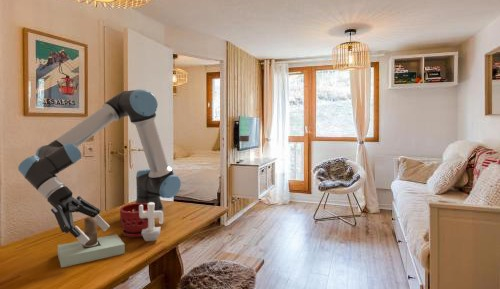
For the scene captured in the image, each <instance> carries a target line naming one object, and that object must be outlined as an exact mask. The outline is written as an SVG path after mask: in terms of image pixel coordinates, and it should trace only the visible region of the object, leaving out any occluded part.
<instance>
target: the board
mask: <svg viewBox="0 0 500 289" xmlns="http://www.w3.org/2000/svg"><path fill="white" fill-rule="evenodd" d="M97 242H98V245H97V246H96V247H92V248H87V249H86V248H85V246H84V245H83V244H82V243H81V242H80V241H79V240H77V241H73V242H69V243H68V242H67V243H62V244H57V256H58V257H57V258H58V261H59V264H60V268H66V267H70V266H75V265H79V264H83V263H89V262H93V261H97V260H101V259H106V258H111V257H114V256H119V255H123V254H126V247H125V246H126V244H125V243H124V241H123V240H122V239H121V237H119V236H118V234H117V233H115V234H110V235H105V236H101V237H97Z"/></svg>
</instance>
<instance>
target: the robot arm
mask: <svg viewBox="0 0 500 289" xmlns="http://www.w3.org/2000/svg"><path fill="white" fill-rule="evenodd" d="M157 109H158V101H157V98H156V96H155V95H154V94H153V92H151V91H149V90H147V89H134V90H133V89H132V90H123V91H121V92H119V93H117V94H116V95H114V96H113V97H111V98H110V99H108V100H107V101H105V102H104V103H103V104H102V105H101V108H100V109H98V110H96V111H95V112H94V113H92V114H91V115H90V116H87V117H86V118H85V119H84V120H82V121H81V122H79V123H78V124H76V125H75V126H74V127H72V128H70V129H69V130H68V131H66V132H64V133H63V134H61V135H60V136H59V137H57V138H56V139H54V140H53V141H51V142H50V143H48V144H45V145H41V146H39V147H38V148H37V149H36V151H35V155H31V156H28V157H26V158H25V159H23V160H22V161H21V162H20V163H19V164H18V167H17V170H18V171H19V173H20V174H21V175H22V176H23V177H24V179H25V180H27V182H28V183H29V184H30V185H32V187H33V188H34V189H36V190H37V191H38V193H39V194H40V195H42V196H43V197H44V199H46V200H47V202H48V203H49V204H50V205H51V206H52V208H51V209H50V211H51V213H53V215H54V217H55V220H56V221H57V224H58V226H59V228H60V231H61V232H62V233H65V234H69V233H70V234H71V235H72V236H73V237H74V238H76V239H77V241H80V242H81V243H82V244H83V245H85V244H86V243H87V242H88V241H89V240H90V239H89V238H88V237H87V236H86V235H85V231H83V230H82V229H81V228H80V227H79V226H78V225H75V222H74V218H73V217H74V216H73V213H81V214H83V215H86V216H88V217H89V218H90V217H96V218H97V227H99V228H100V229H101V230H102V231H103V232H106V231H107V230H108V229H109V228H110V227H111V226H110V225H109V223H108V222H106V220H105V219H104V218H103V217H102V216H101V215H100V213H101V210H100V209H99V208H98V207H96V206H95V205H93V204H92V203H90V202H88V201H86V200H85V199H84V198H82V197H81V196H80V195H78V196H77V197H76V198H75V197H73V192H72V190H71V189H70V188H69V187H68V186H65V185H66V184H65V183H64V182H63V181H62V180H61V179H60V178H59V177H58V176H57V174H59V173H60V172H62V171H64V170H65V169H67V168H69V167H70V166H72V165H74V164H76V163H77V162H78V161H79V160H81V159H82V158H83V157H82V152H81V150H80V149H79V147H80V146H81V145H83V144H84V143H86V142H87V141H88V140H89V139H91V138H92V137H94V135H96V134H98V133H99V132H100V131H102V130H103V129H104V128H106V127H107V126H109V125H110V124H111V123H112V122H118V121H119V120H121V119H122V118H125V117H129V121H130V123H131V124H133V125H135V128H136V131H137V134H138V137H139V140H140V143H141V146H142V148H143V152H144V155H145V158H146V161H147V164H148V168H147V169H139V170H137V172H136V177H135V179H136V200H135V202H134V204H135V203H147V204H148V203H149V202H153V203H155V207H154V211H162V212H163V213H164V206H163V203H162V200H161V198H163V199H172V198H173V197H175V196H176V195H177V194H178V193H179V192H180V190H181V185H182V184H181V183H182V182H181V179H180V177H179V176H178V175H176V174H174V170H173V167H171V166H169V164H168V162H167V158H166V155H165V152H164V148H163V145H162V142H161V139H160V135H159V132H158V129H157V126H156V123H155V122H156V121H155V119H156V117H157V113H156V112H157ZM143 210H144V209H143ZM135 211H136V210H135V209H133V212H135ZM138 212H139V211H138Z"/></svg>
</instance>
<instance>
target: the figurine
mask: <svg viewBox="0 0 500 289" xmlns="http://www.w3.org/2000/svg"><path fill="white" fill-rule="evenodd" d="M154 207H155V203H153V202H149V203H148V204H147V208H148V211H143V205H139V217H140V218H148V228H145V229H142V233H141V234H142V238H143V239H144V241H145V242H153V241H157V240H158V238H159V236H160V234H161V228H162V227H161V226H155V218H158V222H159V224H160V225H162V224H163V223H164V211H163V212H162V211H154Z"/></svg>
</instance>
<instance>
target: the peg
mask: <svg viewBox="0 0 500 289" xmlns="http://www.w3.org/2000/svg"><path fill="white" fill-rule="evenodd" d="M83 221H84V234H85V235H86V236H87V237H88V238H89V239H90V240H89V241H88V242H87V243H86V244H85V245H84V246H85V248H86V249H87V248H92V247H96V246H97V245H98V242H97V238H98V225H97V218H96V217H90V216H89V217H87V218H84V220H83Z"/></svg>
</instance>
